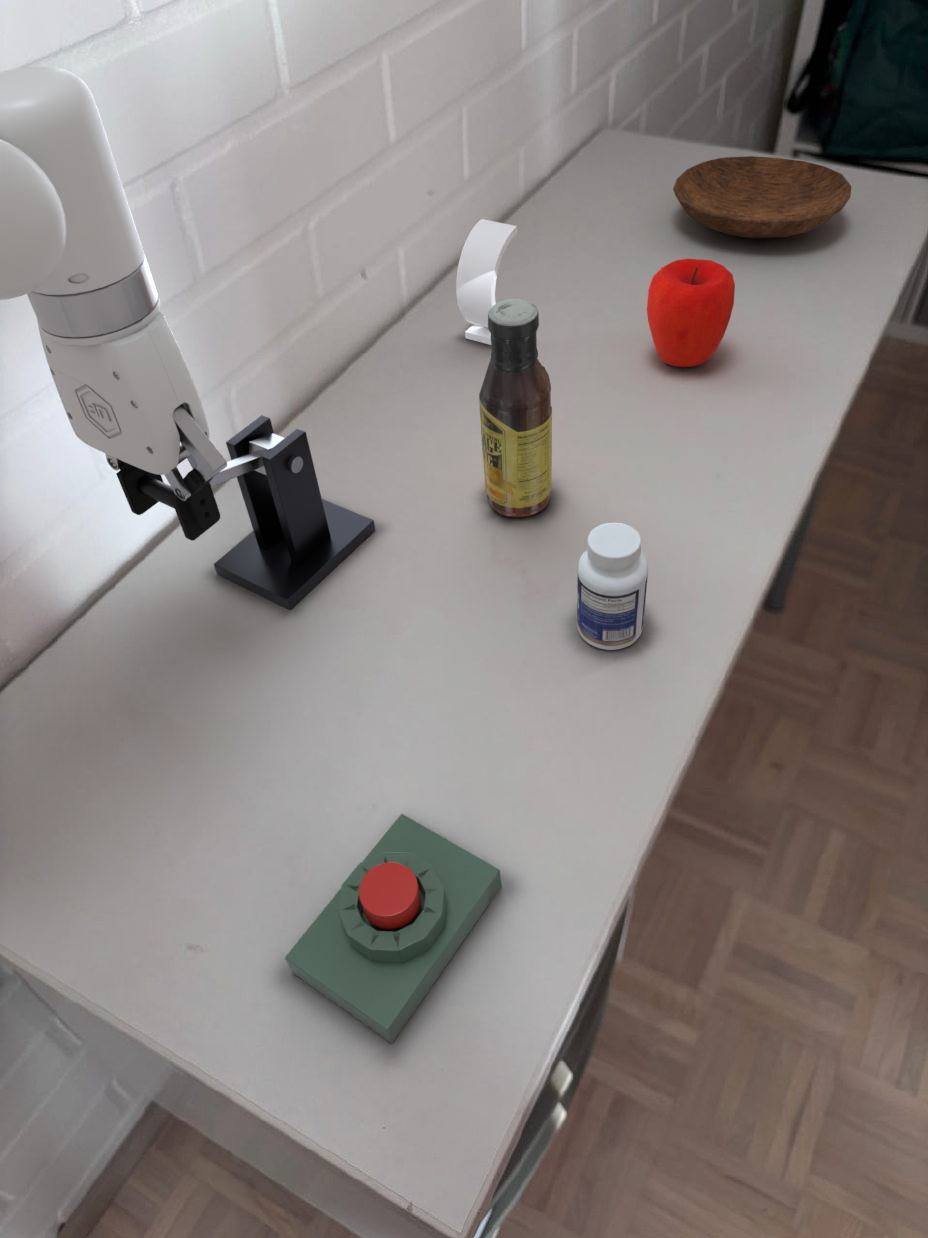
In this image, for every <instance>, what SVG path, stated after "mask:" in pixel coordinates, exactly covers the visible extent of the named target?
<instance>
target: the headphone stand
mask: <svg viewBox="0 0 928 1238" xmlns="http://www.w3.org/2000/svg"><path fill="white" fill-rule="evenodd" d="M517 235H518V225H513V224H508V223H504V222H498V221H493V220H489V219H484V218H481V219H480V220H478V221H477V223H476V224H475V225H474V226H473V228H471V231H470V232H469V234H468V236H467V238H466V240H465V242H464V245H463V247H462V250H461V253H460V256H459V261H458V264H457V272H456V282H455V291H456V293H455V294H456V300H457V301H456V302H457V305H458V310H459V311H460V313H461V316H462V317H463V319H464V320H465V321H467V322H468V323H469V324H472V325H471V326H470V327H469V328H467V330H465V331H464V335H465V336H464V337H465V339H466V340H470V341H474V342H478V343H481V344H486V345H489V346H491V333H490V331H489V329H488V313H489V310H490V309H491V308H492V307H493V306H494V305H495V304H497V302H496V286H497V280H498V279H497V277H498V273H499V269H500V265H501V263H502V260H503V257H504V255H505V253H506V250H507V248H508V246H509V245H510V244H511V242H512V240H513V239H514V238H515V237H516V236H517Z"/></svg>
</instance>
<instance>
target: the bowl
mask: <svg viewBox="0 0 928 1238" xmlns="http://www.w3.org/2000/svg"><path fill="white" fill-rule="evenodd" d="M672 190H673V193H674V196H675V198H676V199H677V201H678V203H679V205H680V206H681V208H682V210H683V211H684V212H685V213H686V214H687V215H688V216H689V217H690V218H691V219H692V220H695V222H697V223H699V224H701V225H702V226H704V227H706V228H707V229H711V230H714V231H716V232H720V233H723V234H726V235H729V236H735V237H741V238H748V239H768V238H788V237H792V236H796V235H801V234H805V233H808V232H811V231H812V230H814V229H816V228H818V227H820V226H822V225H824V224H825V223H827V222H828V221H829V220H831V219H832V218H833V217H834V216H836V215H837V214H838V213H839V212H841V211H842V210H843V209H844V207H845V206H846V204H847V203H848V202H849V200H850V199H851V195H852V185H851V184H850V182H849V180H847V179H846V177H845V176H844V174H842V173H841V172H840V171H839V172H838V171H837V170H834V169H832V168H830V167H827V166H824V165H820V164H817V163H812V162H809V161H803V160H797V159H790V158H788V159H787V158H782V157H781V158H780V157H769V156H768V157H767V156H753V155H749V156H748V155H747V156H729V157H719V158H714V159H710V160H706V161H701V162H700V163H697V164H695V165H693V166H691V167H689V168H687V169H686V170H684V171H683V172H682V173H681V174H680V175H679V176H678V177H677V178H676V179H675V182H674V185H673V188H672Z"/></svg>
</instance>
